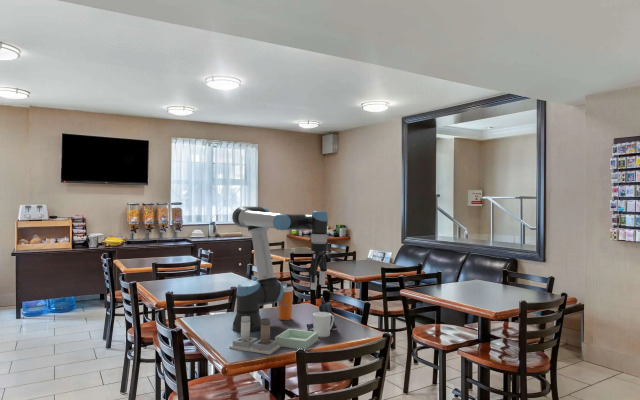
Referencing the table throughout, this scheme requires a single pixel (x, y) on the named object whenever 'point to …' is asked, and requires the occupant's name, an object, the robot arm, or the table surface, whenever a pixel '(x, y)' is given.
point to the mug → (322, 323)
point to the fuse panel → (255, 346)
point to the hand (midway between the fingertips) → (317, 287)
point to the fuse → (245, 328)
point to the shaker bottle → (286, 302)
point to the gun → (324, 308)
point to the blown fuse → (265, 331)
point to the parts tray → (296, 338)
